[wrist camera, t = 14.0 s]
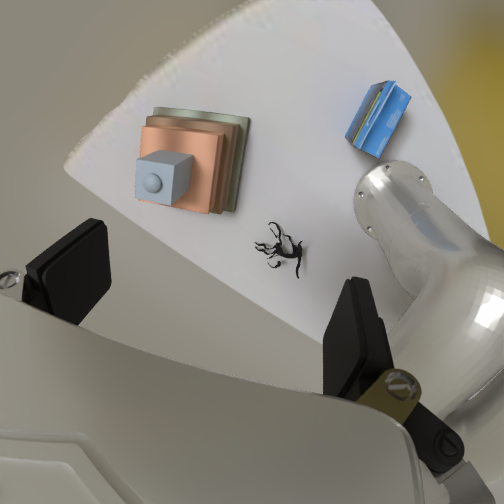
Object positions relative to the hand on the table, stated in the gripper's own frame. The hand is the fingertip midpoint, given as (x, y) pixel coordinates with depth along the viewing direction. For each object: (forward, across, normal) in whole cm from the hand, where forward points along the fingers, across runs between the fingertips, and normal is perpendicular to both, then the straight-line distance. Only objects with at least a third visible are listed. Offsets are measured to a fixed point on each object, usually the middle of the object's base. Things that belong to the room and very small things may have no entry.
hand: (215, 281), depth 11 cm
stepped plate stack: (+34, +12, +4) cm, 37 cm away
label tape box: (+35, -11, -7) cm, 37 cm away
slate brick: (+26, +12, +4) cm, 29 cm away
